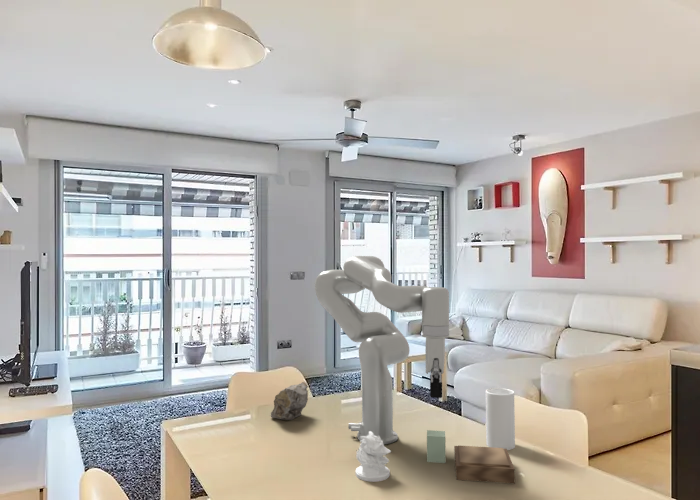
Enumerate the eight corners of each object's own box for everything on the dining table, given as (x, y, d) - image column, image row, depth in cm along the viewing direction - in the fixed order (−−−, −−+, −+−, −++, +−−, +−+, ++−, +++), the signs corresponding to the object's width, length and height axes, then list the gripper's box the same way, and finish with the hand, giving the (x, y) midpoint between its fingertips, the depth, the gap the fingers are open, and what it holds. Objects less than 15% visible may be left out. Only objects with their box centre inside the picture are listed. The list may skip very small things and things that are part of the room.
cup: (516, 451, 145) (515, 395, 145) (487, 449, 146) (486, 393, 147) (513, 441, 153) (512, 388, 153) (485, 439, 154) (484, 387, 155)
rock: (284, 405, 188) (300, 371, 185) (304, 419, 184) (321, 385, 182) (259, 418, 172) (276, 381, 170) (281, 434, 169) (299, 397, 166)
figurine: (387, 485, 122) (387, 442, 122) (350, 482, 124) (350, 439, 124) (394, 466, 133) (394, 427, 134) (360, 463, 136) (360, 424, 136)
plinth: (456, 479, 125) (456, 463, 125) (454, 458, 139) (454, 443, 139) (514, 483, 123) (514, 467, 123) (506, 461, 137) (506, 446, 137)
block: (426, 461, 137) (426, 436, 137) (427, 455, 142) (427, 430, 142) (445, 463, 136) (445, 437, 136) (445, 456, 141) (445, 431, 141)
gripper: (422, 327, 149) (423, 385, 149) (421, 335, 132) (421, 400, 131) (448, 327, 148) (448, 386, 147) (450, 335, 131) (450, 401, 130)
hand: (436, 392), depth 139 cm, fingers open, 9 cm apart
